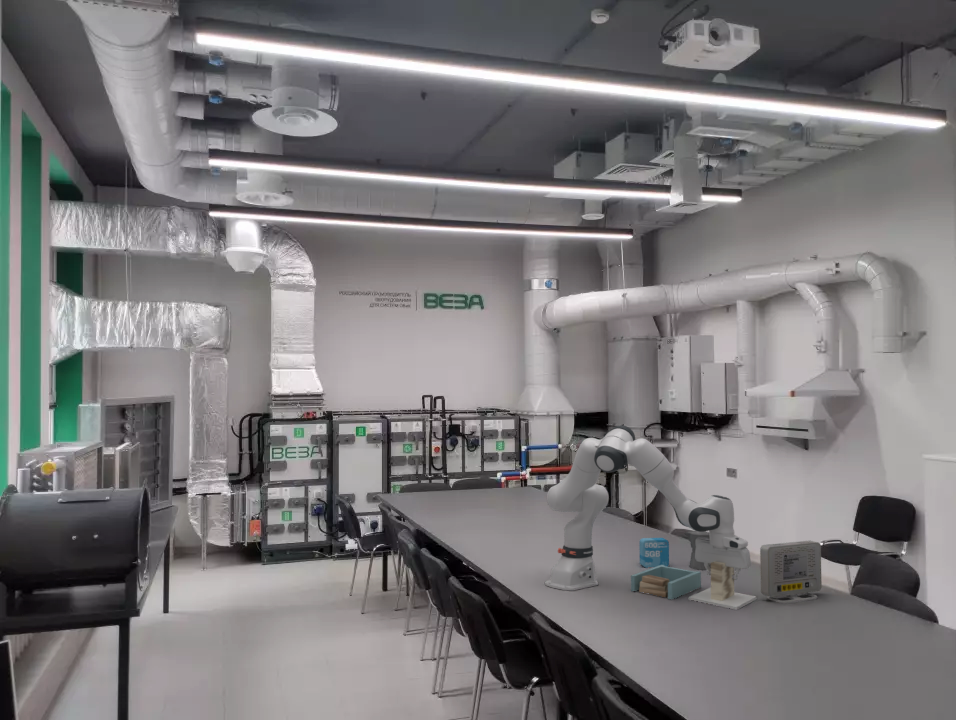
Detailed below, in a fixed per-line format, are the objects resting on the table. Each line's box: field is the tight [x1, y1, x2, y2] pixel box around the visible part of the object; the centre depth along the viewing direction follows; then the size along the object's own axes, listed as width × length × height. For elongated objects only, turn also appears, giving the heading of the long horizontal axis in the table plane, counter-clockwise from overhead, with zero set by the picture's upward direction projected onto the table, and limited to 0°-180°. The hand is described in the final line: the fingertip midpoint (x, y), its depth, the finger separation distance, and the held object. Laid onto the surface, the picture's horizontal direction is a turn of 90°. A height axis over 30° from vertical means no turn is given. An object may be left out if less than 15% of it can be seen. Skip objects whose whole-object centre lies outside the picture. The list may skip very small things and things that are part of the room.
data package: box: [638, 537, 670, 569], centre depth 316 cm, size 12×4×12 cm, turn 99°
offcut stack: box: [638, 575, 669, 598], centre depth 273 cm, size 5×11×6 cm, turn 47°
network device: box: [759, 540, 823, 604], centre depth 268 cm, size 26×9×20 cm, turn 111°
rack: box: [630, 565, 702, 601], centre depth 279 cm, size 24×17×6 cm
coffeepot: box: [684, 530, 711, 571], centre depth 314 cm, size 15×9×18 cm, turn 72°
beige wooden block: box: [710, 561, 735, 601], centre depth 265 cm, size 11×4×13 cm, turn 137°
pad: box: [688, 587, 757, 611], centre depth 265 cm, size 18×18×1 cm
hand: (722, 577), depth 265 cm, fingers open, 8 cm apart
